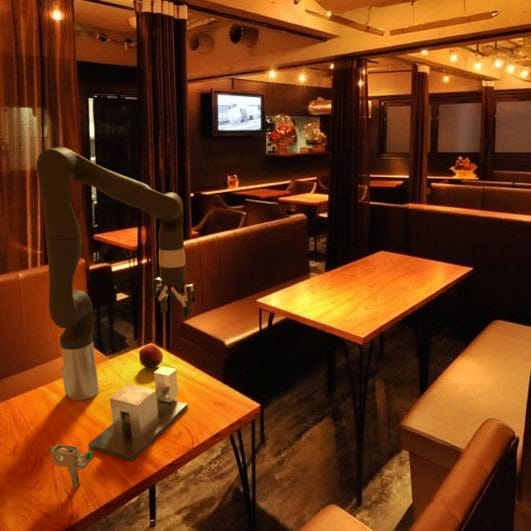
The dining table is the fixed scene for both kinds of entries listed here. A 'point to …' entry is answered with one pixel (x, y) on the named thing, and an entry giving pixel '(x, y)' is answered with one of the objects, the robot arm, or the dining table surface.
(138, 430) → the shaft housing
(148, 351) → the fruit
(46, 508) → the dining table surface
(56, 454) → the mechanical component
